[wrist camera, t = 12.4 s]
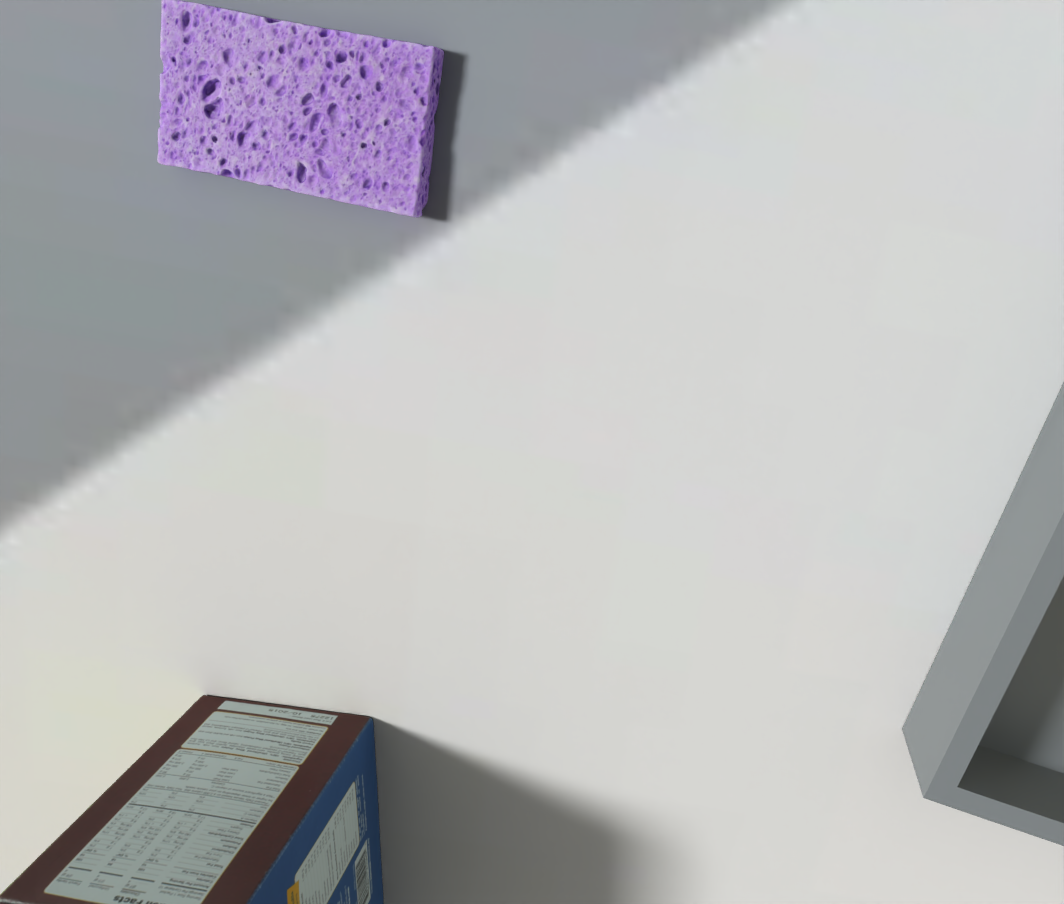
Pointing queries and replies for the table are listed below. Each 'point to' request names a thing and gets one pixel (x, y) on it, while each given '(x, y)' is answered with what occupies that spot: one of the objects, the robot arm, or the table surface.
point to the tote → (1005, 666)
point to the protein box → (228, 817)
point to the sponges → (298, 106)
